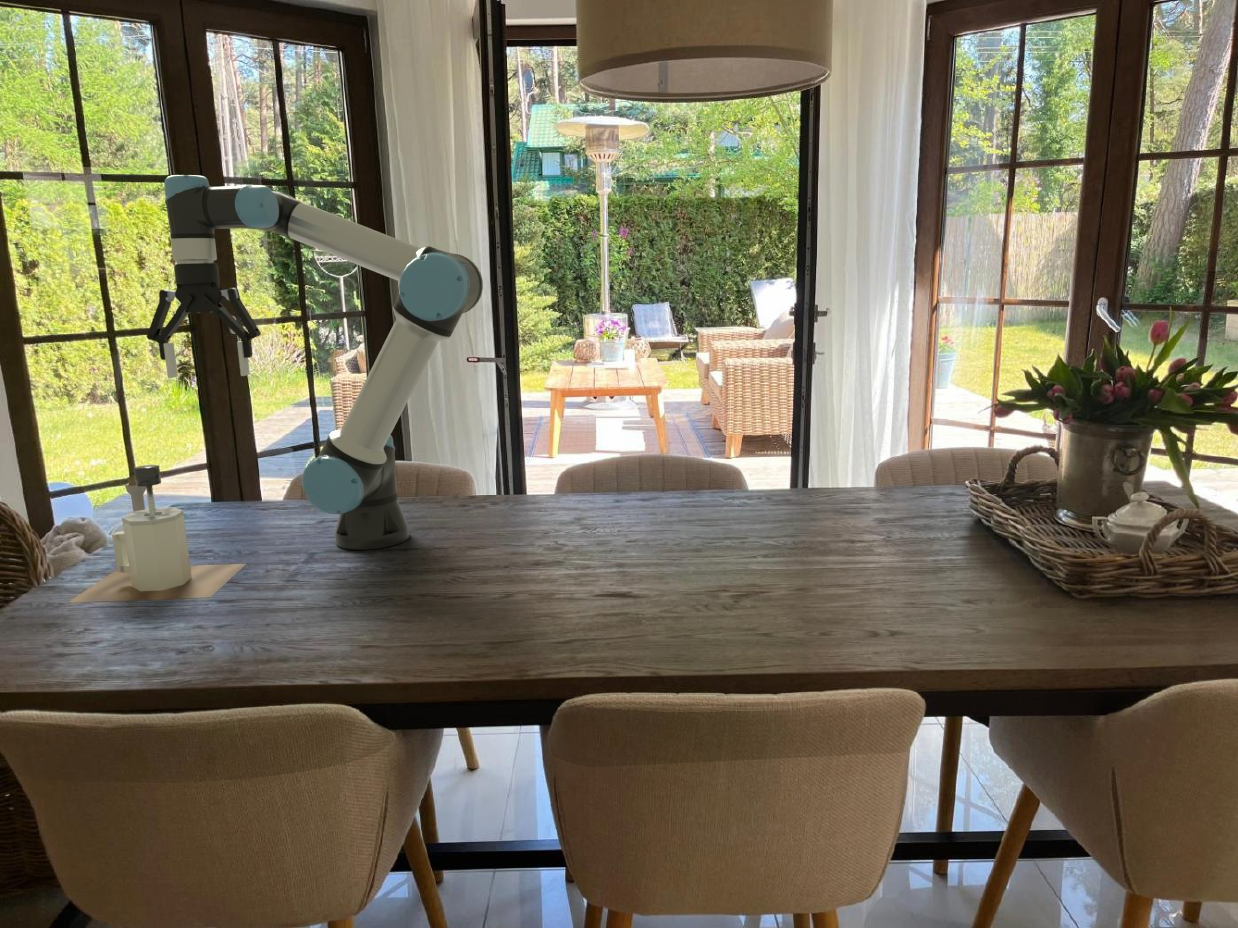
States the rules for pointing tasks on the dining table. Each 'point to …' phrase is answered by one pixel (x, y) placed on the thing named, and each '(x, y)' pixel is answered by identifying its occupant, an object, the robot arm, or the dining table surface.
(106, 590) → the board
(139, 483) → the plunger
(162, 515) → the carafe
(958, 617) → the dining table surface
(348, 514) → the robot arm
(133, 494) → the potion bottle
